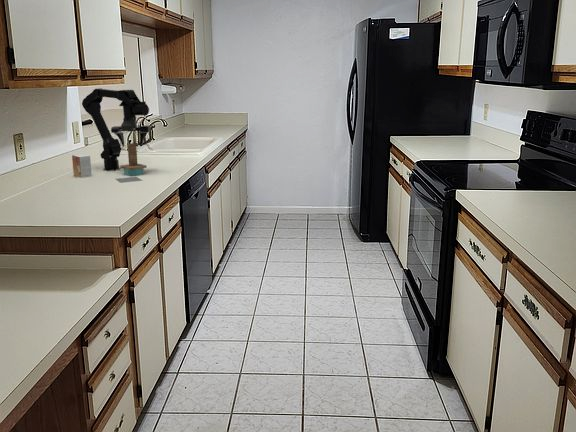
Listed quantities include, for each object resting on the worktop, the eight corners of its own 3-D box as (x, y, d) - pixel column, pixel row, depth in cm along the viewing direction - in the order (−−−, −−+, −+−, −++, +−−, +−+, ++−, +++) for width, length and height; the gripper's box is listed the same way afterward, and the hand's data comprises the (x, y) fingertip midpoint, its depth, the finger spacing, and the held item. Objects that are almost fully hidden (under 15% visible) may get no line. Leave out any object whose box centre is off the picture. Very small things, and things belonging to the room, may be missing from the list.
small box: (73, 176, 273) (71, 155, 270) (84, 174, 277) (82, 153, 274) (81, 178, 267) (79, 156, 265) (92, 176, 271) (90, 155, 269)
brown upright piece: (120, 167, 275) (118, 143, 272) (136, 165, 282) (134, 142, 279) (130, 170, 269) (128, 145, 266) (146, 167, 276) (145, 143, 273)
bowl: (121, 174, 276) (120, 167, 275) (136, 172, 283) (136, 165, 282) (131, 177, 270) (130, 170, 269) (146, 174, 277) (146, 167, 276)
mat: (115, 179, 265) (114, 178, 265) (136, 177, 270) (136, 176, 270) (120, 183, 256) (120, 182, 256) (142, 181, 261) (142, 180, 261)
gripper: (105, 117, 269) (109, 148, 273) (143, 116, 269) (146, 148, 273) (113, 115, 280) (116, 145, 284) (149, 114, 279) (152, 145, 283)
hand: (132, 146), depth 281 cm, fingers open, 9 cm apart
